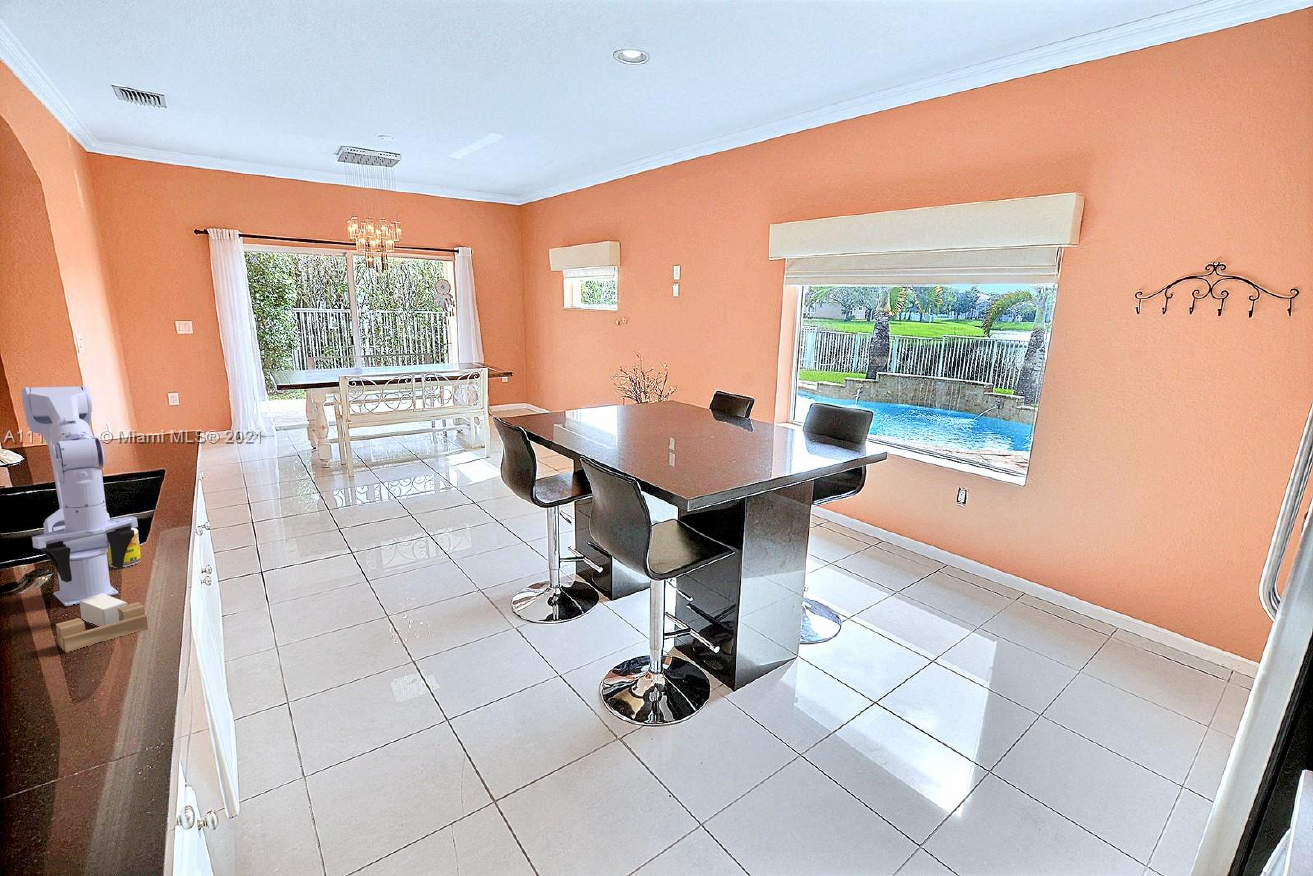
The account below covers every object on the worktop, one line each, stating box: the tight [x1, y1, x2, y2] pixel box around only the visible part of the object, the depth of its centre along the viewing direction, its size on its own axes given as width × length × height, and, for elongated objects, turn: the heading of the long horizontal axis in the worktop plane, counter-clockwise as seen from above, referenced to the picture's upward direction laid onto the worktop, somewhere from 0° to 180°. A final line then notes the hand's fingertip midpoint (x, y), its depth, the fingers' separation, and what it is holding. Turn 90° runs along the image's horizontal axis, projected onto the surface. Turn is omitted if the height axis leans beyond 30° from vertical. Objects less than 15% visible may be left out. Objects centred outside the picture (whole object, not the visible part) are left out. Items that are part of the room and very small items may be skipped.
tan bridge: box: [55, 602, 149, 654], centre depth 107 cm, size 4×11×4 cm, turn 146°
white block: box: [79, 593, 128, 627], centre depth 112 cm, size 9×4×4 cm, turn 66°
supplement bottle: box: [107, 527, 142, 569], centre depth 138 cm, size 6×6×10 cm
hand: (93, 573), depth 112 cm, fingers open, 7 cm apart
